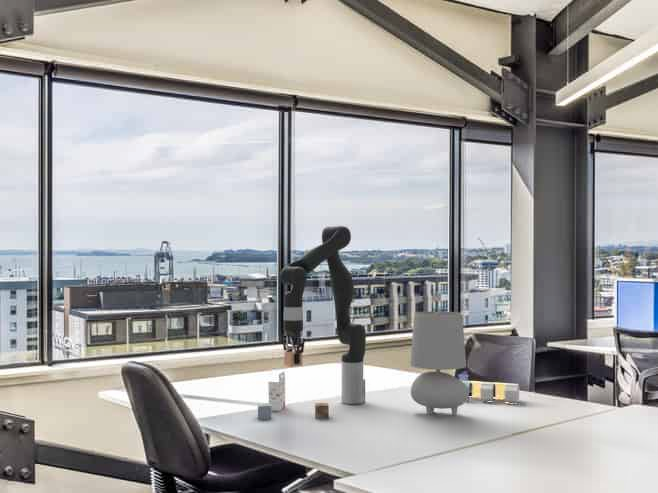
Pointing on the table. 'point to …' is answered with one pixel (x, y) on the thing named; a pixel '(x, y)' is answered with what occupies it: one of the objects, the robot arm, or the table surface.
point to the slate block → (264, 411)
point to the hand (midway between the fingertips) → (293, 362)
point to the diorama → (491, 390)
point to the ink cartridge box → (277, 392)
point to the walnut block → (321, 410)
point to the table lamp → (438, 360)
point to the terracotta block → (291, 359)
